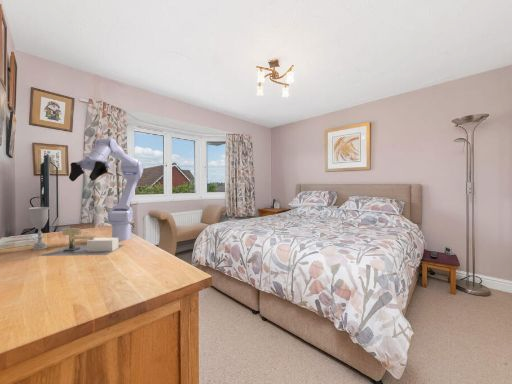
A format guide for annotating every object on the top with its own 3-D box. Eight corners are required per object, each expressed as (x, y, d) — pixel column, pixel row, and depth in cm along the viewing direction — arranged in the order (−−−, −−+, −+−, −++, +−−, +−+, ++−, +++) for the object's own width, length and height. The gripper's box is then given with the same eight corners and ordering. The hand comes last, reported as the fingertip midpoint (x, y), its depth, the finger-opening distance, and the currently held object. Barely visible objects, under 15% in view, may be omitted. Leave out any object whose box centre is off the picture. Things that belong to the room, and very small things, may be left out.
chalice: (33, 246, 104) (32, 207, 103) (52, 245, 107) (52, 206, 106) (25, 251, 97) (24, 208, 97) (46, 249, 100) (45, 208, 99)
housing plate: (69, 247, 103) (69, 244, 103) (125, 246, 106) (125, 243, 106) (41, 258, 89) (41, 254, 88) (106, 257, 91) (106, 253, 91)
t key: (65, 247, 97) (65, 228, 97) (95, 247, 98) (95, 227, 98) (62, 248, 95) (61, 228, 95) (93, 248, 96) (92, 228, 96)
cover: (94, 248, 100) (94, 237, 100) (118, 247, 101) (118, 237, 100) (86, 251, 95) (86, 240, 95) (112, 251, 96) (112, 240, 95)
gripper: (74, 149, 93) (55, 171, 84) (110, 148, 94) (95, 170, 84) (84, 163, 98) (66, 185, 89) (118, 162, 99) (104, 184, 89)
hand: (81, 179), depth 87 cm, fingers open, 7 cm apart
